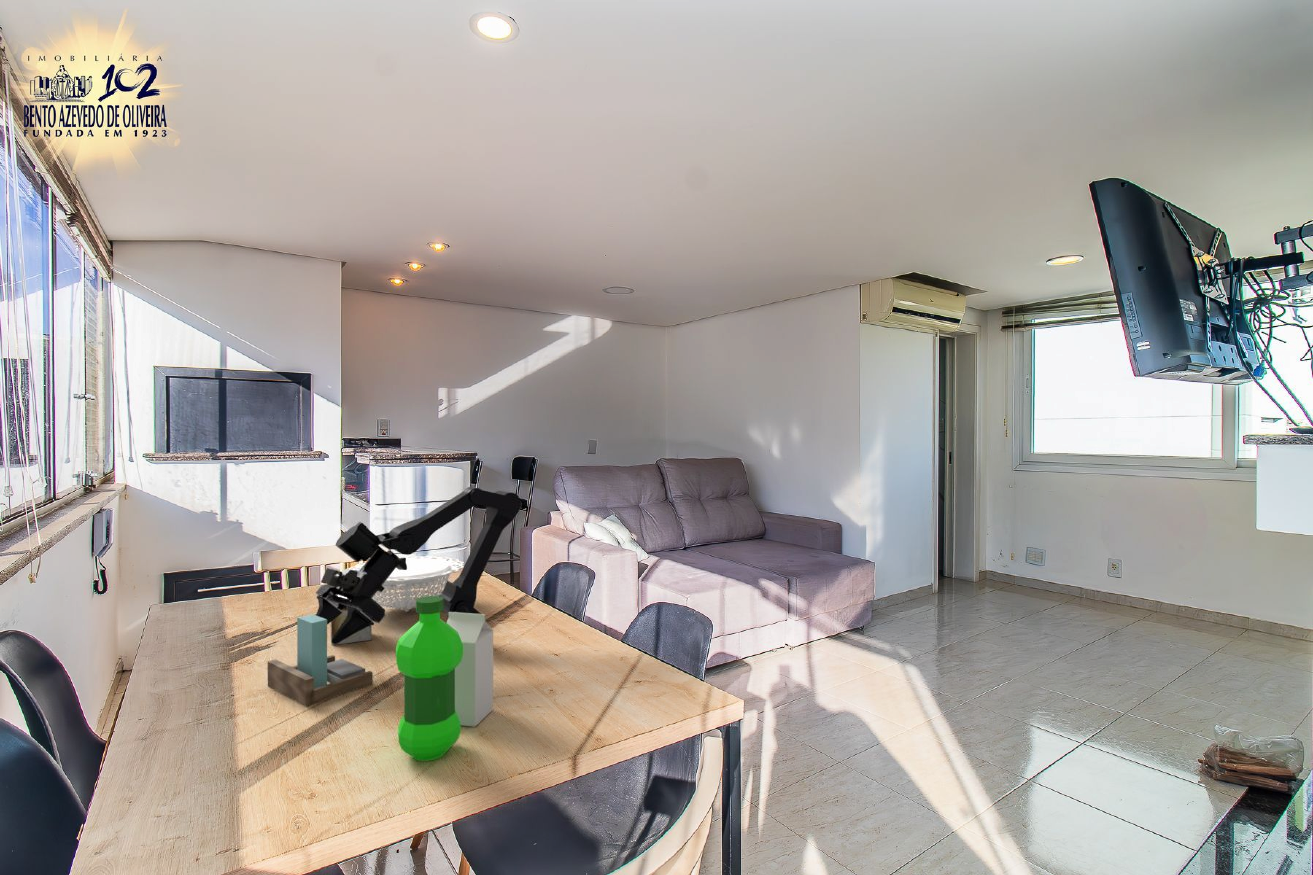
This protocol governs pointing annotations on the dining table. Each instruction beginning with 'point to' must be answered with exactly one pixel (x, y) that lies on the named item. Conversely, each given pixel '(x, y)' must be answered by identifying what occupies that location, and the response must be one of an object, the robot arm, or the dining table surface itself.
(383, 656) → the dining table surface
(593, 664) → the dining table surface
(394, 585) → the colander
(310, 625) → the teal rectangular block
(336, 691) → the frame
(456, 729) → the plastic bottle
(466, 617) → the milk carton
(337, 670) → the offcut stack
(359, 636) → the coffee box
